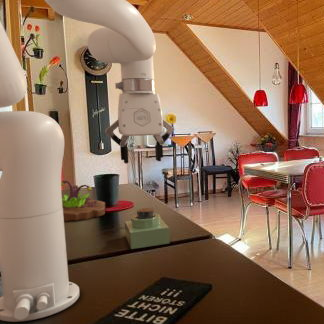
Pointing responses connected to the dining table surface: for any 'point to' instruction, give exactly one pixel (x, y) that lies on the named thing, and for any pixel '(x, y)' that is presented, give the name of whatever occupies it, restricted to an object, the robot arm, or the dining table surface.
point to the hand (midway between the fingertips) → (142, 161)
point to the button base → (146, 232)
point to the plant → (80, 205)
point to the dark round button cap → (145, 213)
